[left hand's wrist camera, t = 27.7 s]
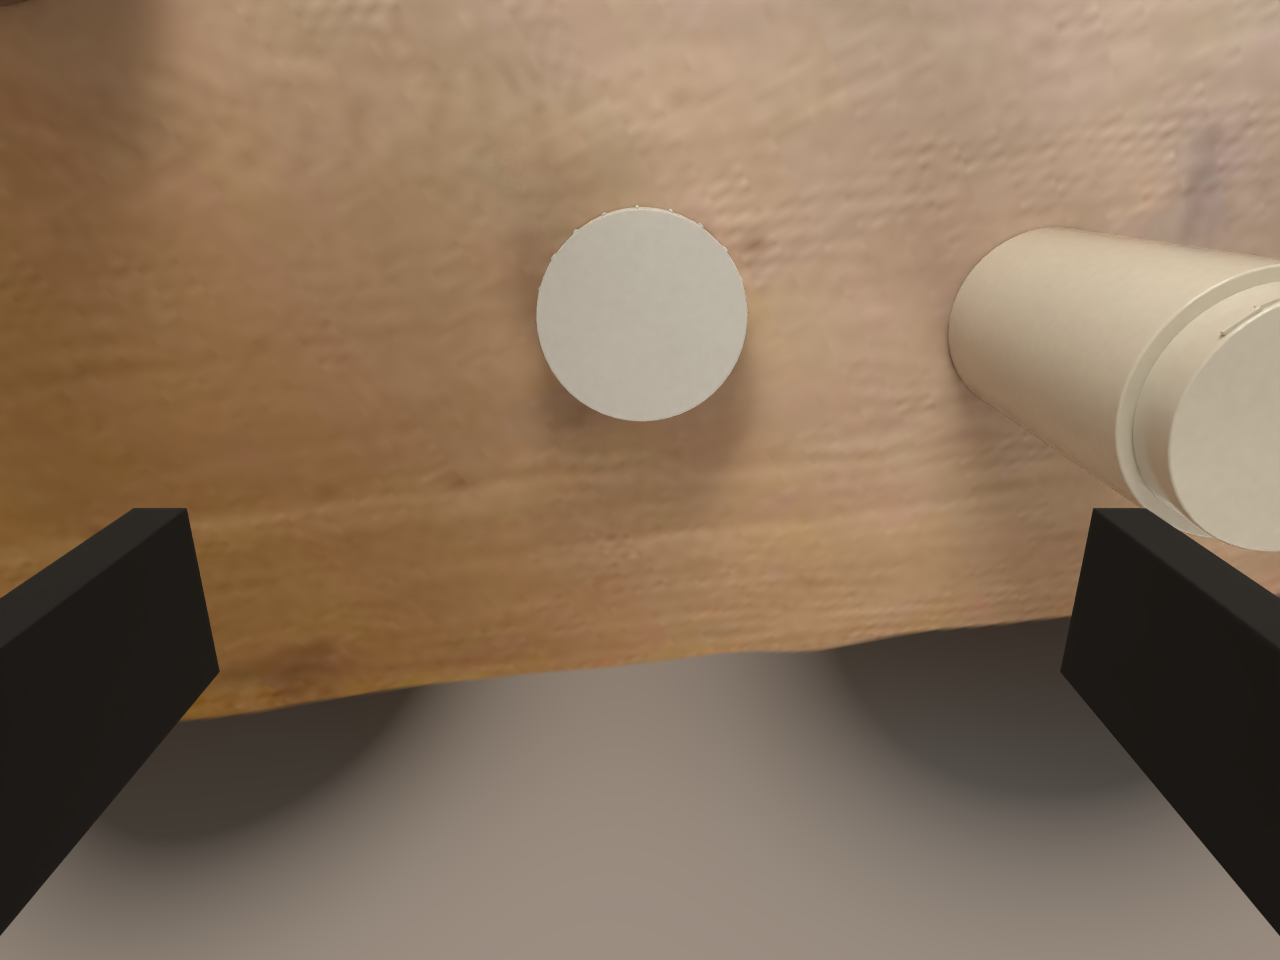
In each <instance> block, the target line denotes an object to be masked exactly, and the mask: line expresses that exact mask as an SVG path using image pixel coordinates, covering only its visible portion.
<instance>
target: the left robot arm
mask: <svg viewBox="0 0 1280 960" xmlns="http://www.w3.org/2000/svg"><path fill="white" fill-rule="evenodd" d="M23 1H26V0H0V6H6V5H11V4H15V3H19V2H23ZM219 672H220V671H219V666H218V661H217V656H216V652H215V647H214V642H213V637H212V632H211V627H210V622H209V617H208V612H207V607H206V602H205V597H204V592H203V587H202V582H201V577H200V572H199V567H198V562H197V557H196V552H195V547H194V542H193V538H192V533H191V528H190V523H189V518H188V513H187V508H133V509H132V510H130V511H129V512H127V513H126V514H124V515H123V516H122V517H120V518H119V519H117V520H116V521H114V522H113V523H111V524H110V525H108V526H107V527H105V528H104V529H102V530H101V531H99V532H98V533H96V534H95V535H93V536H92V537H90V538H89V539H87V540H86V541H85V542H83V543H82V544H80V545H79V546H77V547H76V548H74V549H73V550H71V551H70V552H68V553H67V554H65V555H64V556H62V557H61V558H59V559H58V560H56V561H55V562H53V563H52V564H51V565H49V566H48V567H46V568H45V569H43V570H42V571H40V572H39V573H37V574H36V575H34V576H33V577H31V578H30V579H28V580H27V581H25V582H24V583H22V584H21V585H19V586H18V587H17V588H15V589H14V590H12V591H11V592H9V593H8V594H6V595H5V596H3V597H2V598H0V935H1V934H2V933H3V932H4V931H5V929H6V928H7V927H8V926H9V925H10V923H11V922H12V921H13V920H14V919H15V917H16V916H17V915H18V914H19V913H20V911H21V910H22V909H23V908H24V907H25V905H26V904H27V903H28V902H29V900H30V899H31V898H32V897H33V896H34V895H35V893H36V892H37V891H38V890H39V888H40V887H41V886H42V885H43V884H44V882H45V881H46V880H47V879H48V878H49V876H50V875H51V874H52V873H53V872H54V870H55V869H56V868H57V867H58V866H59V864H60V863H61V862H62V861H63V860H64V858H65V857H66V856H67V855H68V854H69V852H70V851H71V850H72V849H73V847H74V846H75V845H76V844H77V843H78V842H79V840H80V839H81V838H82V837H83V836H84V834H85V833H86V832H87V831H88V830H89V828H90V827H91V826H92V825H93V823H94V822H95V821H96V820H97V819H98V817H99V816H100V815H101V814H102V813H103V811H104V810H105V809H106V808H107V807H108V805H109V804H110V803H111V802H112V801H113V799H114V798H115V797H116V796H117V795H118V793H119V792H120V791H121V790H122V789H123V787H124V786H125V785H126V784H127V783H128V781H129V780H130V779H131V778H132V777H133V775H134V774H135V773H136V772H137V770H138V769H139V768H140V767H141V766H142V764H143V763H144V762H145V761H146V760H147V759H148V757H149V756H150V755H151V754H152V752H153V751H154V750H155V749H156V748H157V746H158V745H159V744H160V743H161V742H162V740H163V739H164V738H165V737H166V736H167V734H168V733H169V732H170V731H171V730H172V728H173V727H174V726H175V725H176V724H177V722H178V721H179V720H180V719H181V718H182V716H183V715H184V714H185V713H186V712H187V710H188V709H189V708H190V707H191V706H192V704H193V703H194V702H195V701H196V700H197V698H198V697H199V696H200V695H201V694H202V692H203V691H204V690H205V689H206V688H207V686H208V685H209V684H210V683H211V681H212V680H213V679H214V678H215V677H216V675H217V674H218V673H219ZM1061 673H1062V674H1063V675H1064V677H1065V678H1066V679H1067V680H1068V681H1069V683H1070V684H1071V685H1072V686H1073V687H1074V689H1075V690H1076V691H1077V692H1078V694H1079V695H1080V696H1081V697H1082V698H1083V700H1084V701H1085V702H1086V703H1087V704H1088V706H1089V707H1090V708H1091V709H1092V710H1093V712H1094V713H1095V714H1096V715H1097V716H1098V718H1099V719H1100V720H1101V721H1102V722H1103V724H1104V725H1105V726H1106V727H1107V728H1108V730H1109V731H1110V732H1111V733H1112V734H1113V736H1114V737H1115V738H1116V739H1117V740H1118V742H1119V743H1120V744H1121V745H1122V746H1123V748H1124V749H1125V750H1126V751H1127V752H1128V754H1129V755H1130V756H1131V757H1132V758H1133V760H1134V761H1135V762H1136V763H1137V765H1138V766H1139V767H1140V768H1141V769H1142V771H1143V772H1144V773H1145V774H1146V775H1147V776H1148V778H1149V779H1150V780H1151V781H1152V783H1153V784H1154V785H1155V786H1156V787H1157V789H1158V790H1159V791H1160V792H1161V793H1162V795H1163V796H1164V797H1165V798H1166V799H1167V801H1168V802H1169V803H1170V804H1171V805H1172V807H1173V808H1174V809H1175V810H1176V811H1177V813H1178V814H1179V815H1180V816H1181V817H1182V819H1183V820H1184V821H1185V822H1186V824H1187V825H1188V826H1189V827H1190V828H1191V830H1192V831H1193V832H1194V833H1195V834H1196V836H1197V837H1198V838H1199V839H1200V840H1201V842H1202V843H1203V844H1204V845H1205V846H1206V848H1207V849H1208V850H1209V851H1210V852H1211V854H1212V855H1213V856H1214V857H1215V858H1216V860H1217V861H1218V862H1219V863H1220V864H1221V866H1222V867H1223V868H1224V869H1225V870H1226V872H1227V873H1228V874H1229V875H1230V876H1231V878H1232V879H1233V880H1234V881H1235V882H1236V884H1237V885H1238V886H1239V887H1240V888H1241V890H1242V891H1243V892H1244V893H1245V895H1246V896H1247V897H1248V898H1249V899H1250V901H1251V902H1252V903H1253V904H1254V905H1255V907H1256V908H1257V909H1258V910H1259V911H1260V913H1261V914H1262V915H1263V916H1264V917H1265V918H1266V920H1267V921H1268V922H1269V923H1270V925H1271V926H1272V927H1273V928H1274V929H1275V931H1276V932H1277V933H1278V934H1279V935H1280V598H1278V597H1277V596H1275V595H1274V594H1272V593H1271V592H1269V591H1268V590H1266V589H1265V588H1263V587H1262V586H1261V585H1259V584H1258V583H1256V582H1255V581H1253V580H1252V579H1250V578H1249V577H1247V576H1246V575H1244V574H1243V573H1241V572H1240V571H1238V570H1237V569H1235V568H1234V567H1232V566H1231V565H1229V564H1228V563H1227V562H1225V561H1224V560H1222V559H1221V558H1219V557H1218V556H1216V555H1215V554H1213V553H1212V552H1210V551H1209V550H1207V549H1206V548H1204V547H1203V546H1201V545H1200V544H1198V543H1197V542H1195V541H1194V540H1193V539H1191V538H1190V537H1188V536H1187V535H1185V534H1184V533H1182V532H1181V531H1179V530H1178V529H1176V528H1175V527H1173V526H1172V525H1170V524H1169V523H1167V522H1166V521H1164V520H1163V519H1161V518H1160V517H1158V516H1157V515H1156V514H1154V513H1153V512H1151V511H1150V510H1148V509H1147V508H1093V513H1092V518H1091V523H1090V528H1089V533H1088V538H1087V542H1086V547H1085V552H1084V557H1083V562H1082V567H1081V572H1080V577H1079V582H1078V587H1077V592H1076V597H1075V602H1074V607H1073V612H1072V617H1071V622H1070V627H1069V632H1068V637H1067V642H1066V647H1065V652H1064V657H1063V662H1062V666H1061Z"/></svg>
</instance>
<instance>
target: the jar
mask: <svg viewBox="0 0 1280 960" xmlns="http://www.w3.org/2000/svg"><path fill="white" fill-rule="evenodd" d="M948 340H949V349H950V354H951V357H952V361H953V364H954V366H955V368H956V371H957V373H958V374H959V376H960V378H961V379H962V381H963V382H964V383H965V385H966V386H967V387H968V388H969V389H970V390H971V391H972V392H973V393H974V394H975V395H976V396H978V397H979V398H980V399H982V400H983V401H985V402H986V403H988V404H989V405H991V406H992V407H994V408H995V409H996V410H998V411H999V412H1001V413H1002V414H1004V415H1005V416H1007V417H1008V418H1010V419H1011V420H1013V421H1014V422H1015V423H1017V424H1018V425H1020V426H1021V427H1023V428H1024V429H1026V430H1027V431H1029V432H1030V433H1032V434H1033V435H1035V436H1036V437H1037V438H1039V439H1040V440H1042V441H1043V442H1045V443H1046V444H1048V445H1049V446H1051V447H1052V448H1054V449H1055V450H1056V451H1058V452H1059V453H1061V454H1062V455H1064V456H1065V457H1067V458H1068V459H1070V460H1071V461H1073V462H1074V463H1075V464H1077V465H1078V466H1080V467H1081V468H1083V469H1084V470H1086V471H1087V472H1089V473H1090V474H1092V475H1093V476H1094V477H1096V478H1097V479H1099V480H1100V481H1102V482H1103V483H1105V484H1106V485H1108V486H1109V487H1111V488H1112V489H1114V490H1115V491H1116V492H1118V493H1119V494H1121V495H1122V496H1124V497H1125V498H1127V499H1128V500H1130V501H1131V502H1133V503H1134V504H1135V505H1137V506H1138V507H1140V508H1147V509H1148V510H1150V511H1151V512H1153V513H1154V514H1156V515H1157V516H1158V517H1160V518H1161V519H1163V520H1164V521H1166V522H1167V523H1169V524H1170V525H1172V526H1173V527H1175V528H1176V529H1178V530H1179V531H1181V532H1184V533H1188V534H1191V535H1195V536H1200V537H1207V538H1214V539H1218V540H1220V541H1222V542H1225V543H1227V544H1229V545H1233V546H1236V547H1240V548H1243V549H1249V550H1256V551H1280V258H1274V257H1267V256H1260V255H1253V254H1246V253H1239V252H1232V251H1225V250H1218V249H1211V248H1204V247H1198V246H1191V245H1184V244H1177V243H1170V242H1163V241H1156V240H1149V239H1142V238H1135V237H1128V236H1122V235H1115V234H1108V233H1101V232H1094V231H1087V230H1080V229H1073V228H1066V227H1049V228H1041V229H1036V230H1032V231H1028V232H1025V233H1023V234H1020V235H1018V236H1015V237H1013V238H1011V239H1009V240H1007V241H1005V242H1004V243H1002V244H1001V245H999V246H998V247H996V248H995V249H993V250H992V251H991V252H990V253H988V254H987V255H986V256H985V257H984V258H983V259H982V260H981V261H980V262H979V263H978V264H977V265H976V266H975V267H974V268H973V270H972V271H971V272H970V274H969V275H968V276H967V278H966V279H965V281H964V283H963V284H962V286H961V288H960V290H959V292H958V294H957V296H956V299H955V301H954V304H953V308H952V311H951V315H950V321H949V331H948Z"/></svg>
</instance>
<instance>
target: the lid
mask: <svg viewBox="0 0 1280 960" xmlns="http://www.w3.org/2000/svg"><path fill="white" fill-rule="evenodd" d="M703 227H704V226H703V225H702V224H700V223H699V224H697V223H695V222H694V221H692V220H690V219H688V218H686V217H684V216H682V215H680V214H677V213H674V212H673V211H672V210H671V209H669V211H668V210H664V209H659V208H651V207H638V205H636V207H632V208H625V209H620V210H615V211H612V212H609V213H607V214H606V212H603V214H602V215H601V216H599V217H597V218H596V219H594V220H592V221H590V222H588V223H587V224H586V225H584V226H583V227H581V228H580V229H579V230H578V229H575V230H574V231H573V232H572V233H573V235H572V236H571V237H570V238H569V239H568V240H567V241H566V242H565V243H564V244H563V245H562V247H561V248H560V249H559V250H558V251H557V253H556V254H554V255H553V256H552V257H551V260H552V261H551V262H550V264H549V266H548V268H547V270H546V272H545V274H544V277H543V279H542V283H541V286H540V287H539V288H538V291H539V294H538V300H537V309H536V324H537V332H538V337H539V341H540V345H541V348H542V351H543V354H544V356H545V359H546V361H547V363H548V365H549V367H550V368H551V370H552V372H553V373H554V375H555V376H556V378H557V379H558V380H559V382H560V383H561V384H562V385H563V386H564V387H565V388H566V390H567V391H568V392H569V393H570V394H572V395H573V396H574V397H575V398H576V399H578V400H579V401H580V402H582V403H583V404H585V405H586V406H588V407H590V408H591V409H593V410H596V411H598V412H600V413H602V414H605V415H608V416H611V417H614V418H618V419H623V420H628V421H655V420H661V419H666V418H670V417H673V416H676V415H679V414H682V413H684V412H686V411H688V410H690V409H692V408H694V407H696V406H697V405H699V404H700V403H702V402H703V401H705V400H706V399H707V398H708V397H710V396H711V395H712V394H713V393H714V392H715V391H716V390H717V389H718V388H719V387H720V386H721V385H722V384H723V383H724V381H725V380H726V378H727V377H728V376H729V374H730V373H731V371H732V370H733V368H734V366H735V364H736V362H737V360H738V358H739V355H740V353H741V350H742V348H743V344H744V340H745V336H746V329H747V315H748V311H747V302H746V295H745V290H744V287H743V283H742V282H743V279H742V278H741V277H740V275H739V273H738V270H737V268H736V266H735V264H734V263H733V261H732V259H731V258H730V256H729V254H728V253H727V251H728V250H727V249H726V248H725V247H724V246H721V244H720V243H719V242H718V241H717V240H716V239H715V238H714V237H713V236H712V235H710V234H709V233H708V232H707V231H706V230H705V229H704V228H703Z"/></svg>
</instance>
